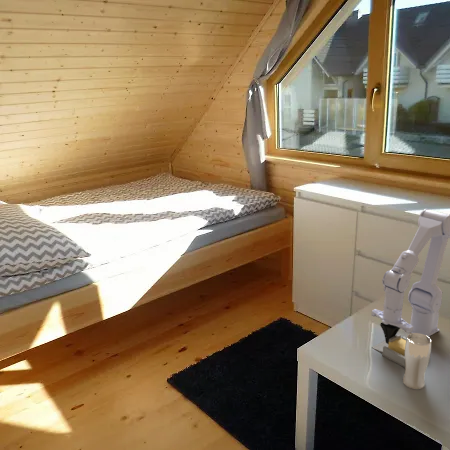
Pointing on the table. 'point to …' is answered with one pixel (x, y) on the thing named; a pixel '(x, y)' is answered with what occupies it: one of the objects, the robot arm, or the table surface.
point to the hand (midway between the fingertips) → (389, 342)
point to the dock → (390, 353)
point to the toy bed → (397, 344)
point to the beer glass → (416, 359)
